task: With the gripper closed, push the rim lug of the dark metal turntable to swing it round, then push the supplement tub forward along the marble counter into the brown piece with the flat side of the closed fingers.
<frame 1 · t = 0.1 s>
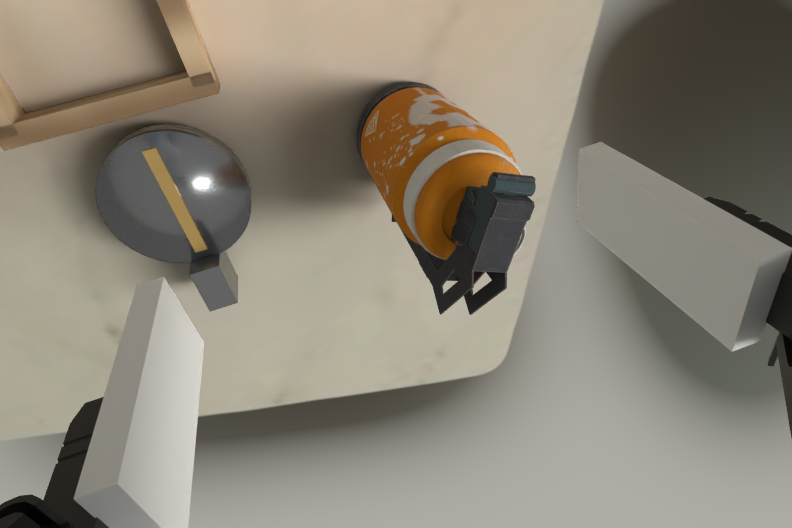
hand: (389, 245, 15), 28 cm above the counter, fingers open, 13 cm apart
turntable: (187, 223, 39), point 3 cm above the counter, hinge at 0.0°
brown piece: (63, 3, 32), on the counter
canister: (401, 143, 44), on the counter
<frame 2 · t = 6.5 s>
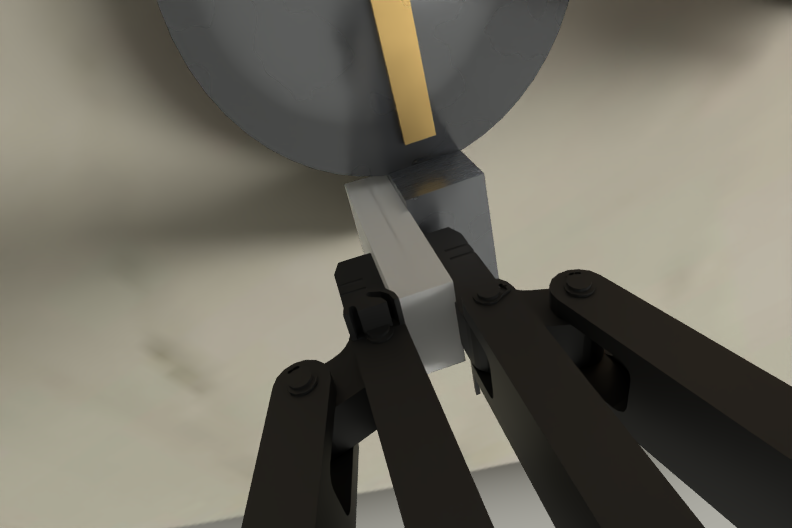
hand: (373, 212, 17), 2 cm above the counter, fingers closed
turntable: (399, 50, 13), point 3 cm above the counter, hinge at 2.2°, touching gripper
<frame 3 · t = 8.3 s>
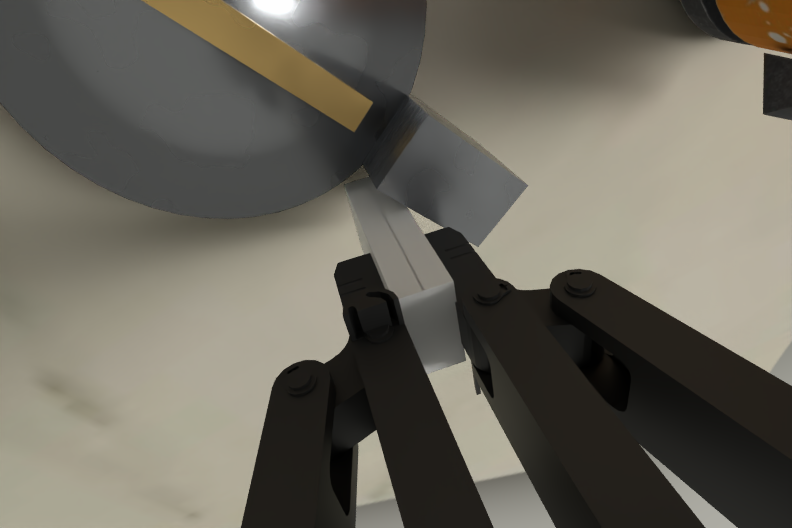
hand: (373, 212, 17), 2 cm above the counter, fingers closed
turntable: (282, 63, 13), point 3 cm above the counter, hinge at 42.5°, touching gripper
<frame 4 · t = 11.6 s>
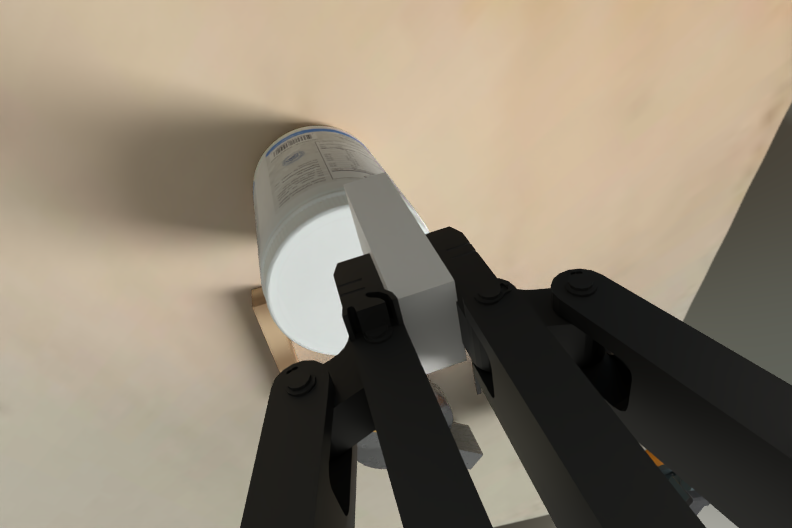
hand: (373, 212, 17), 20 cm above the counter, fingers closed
turntable: (416, 435, 50), point 3 cm above the counter, hinge at 47.7°
brown piece: (352, 313, 44), on the counter
supplement tub: (316, 182, 37), on the counter
canister: (551, 364, 56), on the counter
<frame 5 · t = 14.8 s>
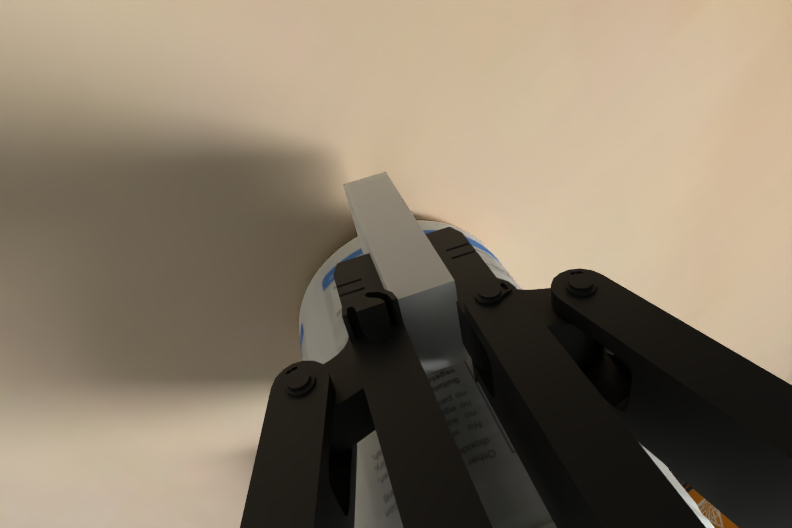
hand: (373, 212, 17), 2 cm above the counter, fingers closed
supplement tub: (399, 299, 23), on the counter, touching gripper
canister: (692, 472, 41), on the counter
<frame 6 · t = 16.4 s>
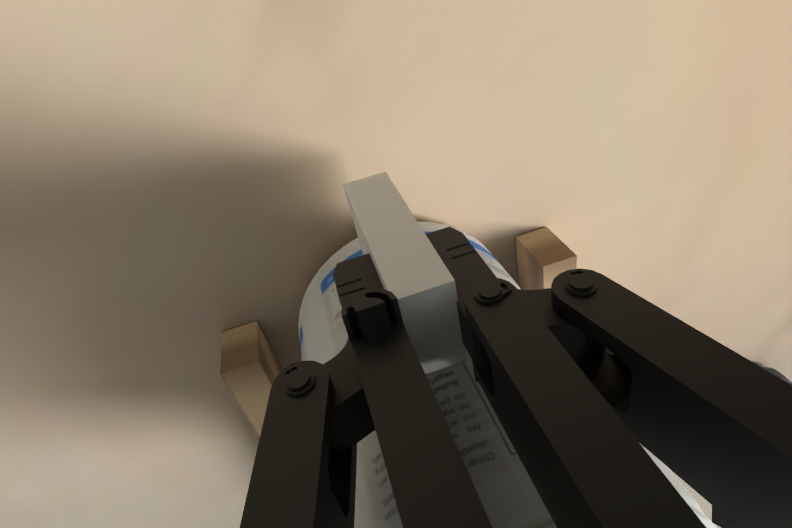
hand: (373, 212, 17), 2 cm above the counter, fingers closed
brown piece: (411, 361, 25), on the counter
supplement tub: (399, 301, 23), on the counter, touching gripper
canister: (708, 413, 36), on the counter
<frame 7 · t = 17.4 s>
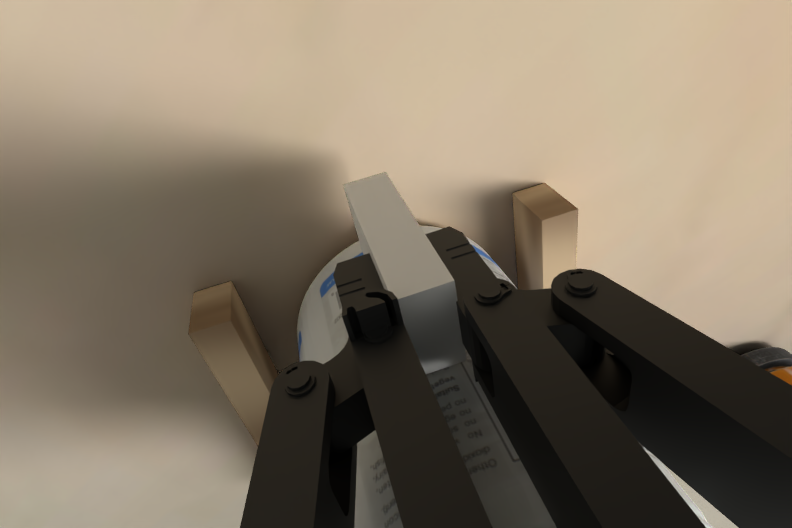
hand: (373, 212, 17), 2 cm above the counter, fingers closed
brown piece: (401, 331, 23), on the counter
supplement tub: (398, 305, 22), on the counter, touching gripper
canister: (714, 397, 35), on the counter
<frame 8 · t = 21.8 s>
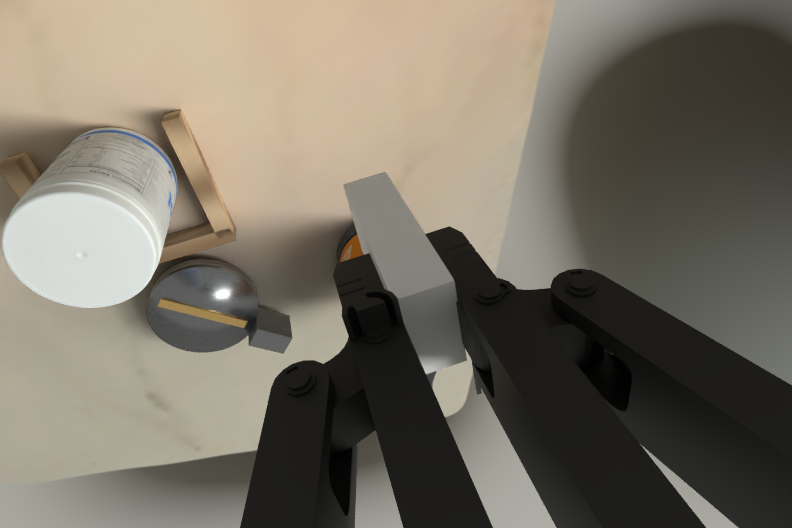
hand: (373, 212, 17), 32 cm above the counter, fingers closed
turntable: (222, 317, 52), point 3 cm above the counter, hinge at 47.7°
brown piece: (128, 188, 46), on the counter
supplement tub: (123, 173, 45), on the counter
canister: (372, 256, 58), on the counter
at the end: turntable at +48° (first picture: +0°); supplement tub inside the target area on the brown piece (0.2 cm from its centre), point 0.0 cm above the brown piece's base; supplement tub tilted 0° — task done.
